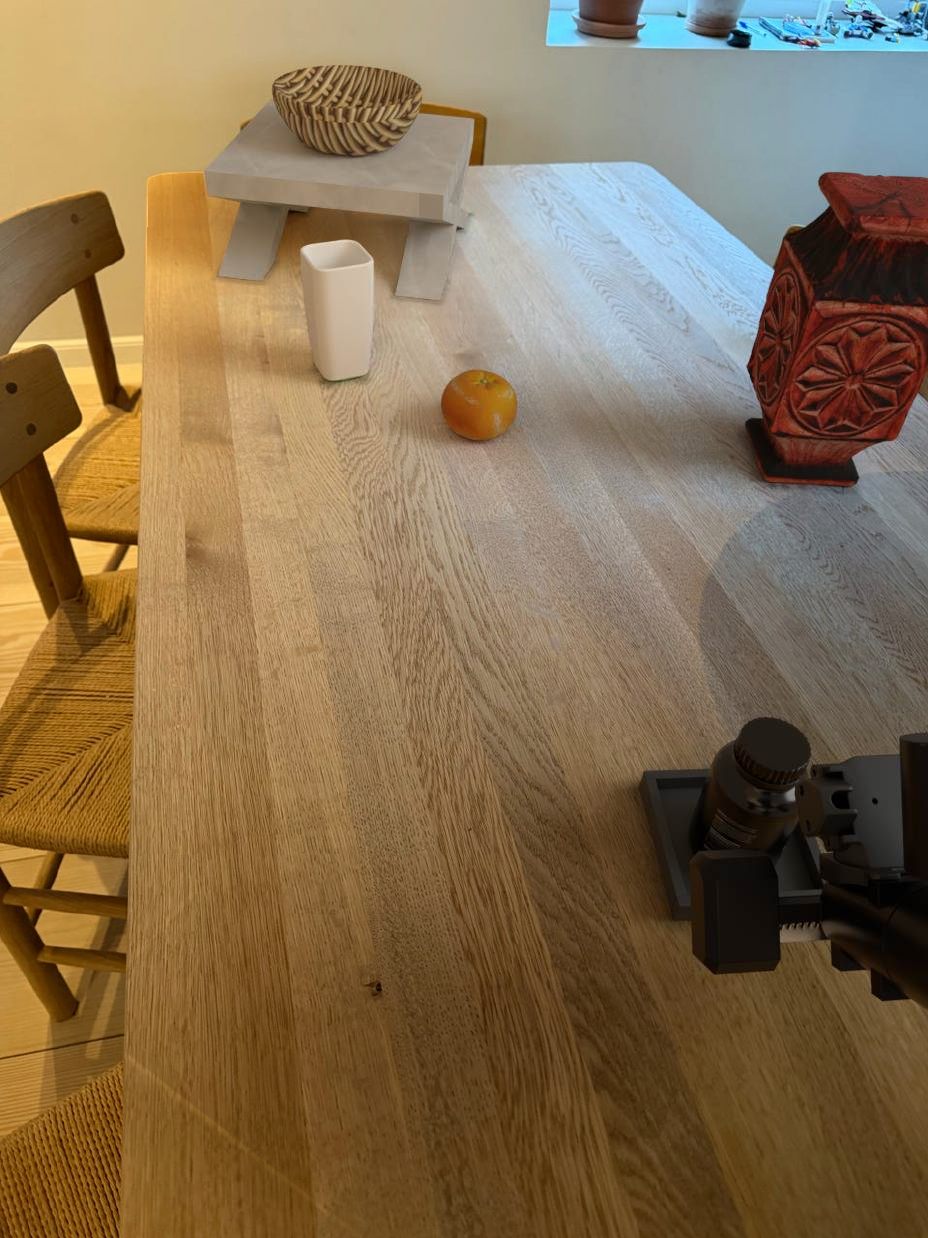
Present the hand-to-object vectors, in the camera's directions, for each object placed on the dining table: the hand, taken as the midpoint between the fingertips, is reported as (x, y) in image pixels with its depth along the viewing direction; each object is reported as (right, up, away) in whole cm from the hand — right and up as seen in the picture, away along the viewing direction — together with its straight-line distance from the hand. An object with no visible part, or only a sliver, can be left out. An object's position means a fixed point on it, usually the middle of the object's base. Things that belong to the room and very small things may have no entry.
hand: (794, 867), depth 61 cm
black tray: (-1, -1, +11) cm, 11 cm away
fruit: (-20, +38, +50) cm, 66 cm away
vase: (+18, +34, +49) cm, 63 cm away
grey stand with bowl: (-38, +73, +86) cm, 119 cm away
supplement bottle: (-1, -1, +11) cm, 11 cm away
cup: (-36, +47, +58) cm, 83 cm away
